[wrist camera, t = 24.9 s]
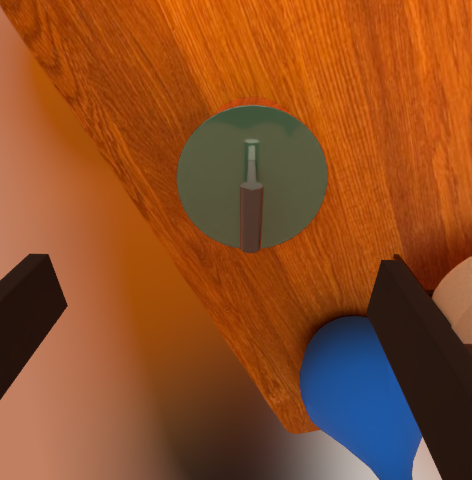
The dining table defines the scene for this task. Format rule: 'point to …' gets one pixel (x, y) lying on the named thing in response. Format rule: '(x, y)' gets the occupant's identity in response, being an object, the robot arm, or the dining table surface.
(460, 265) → the planter
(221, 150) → the lid
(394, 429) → the vase
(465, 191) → the dining table surface
